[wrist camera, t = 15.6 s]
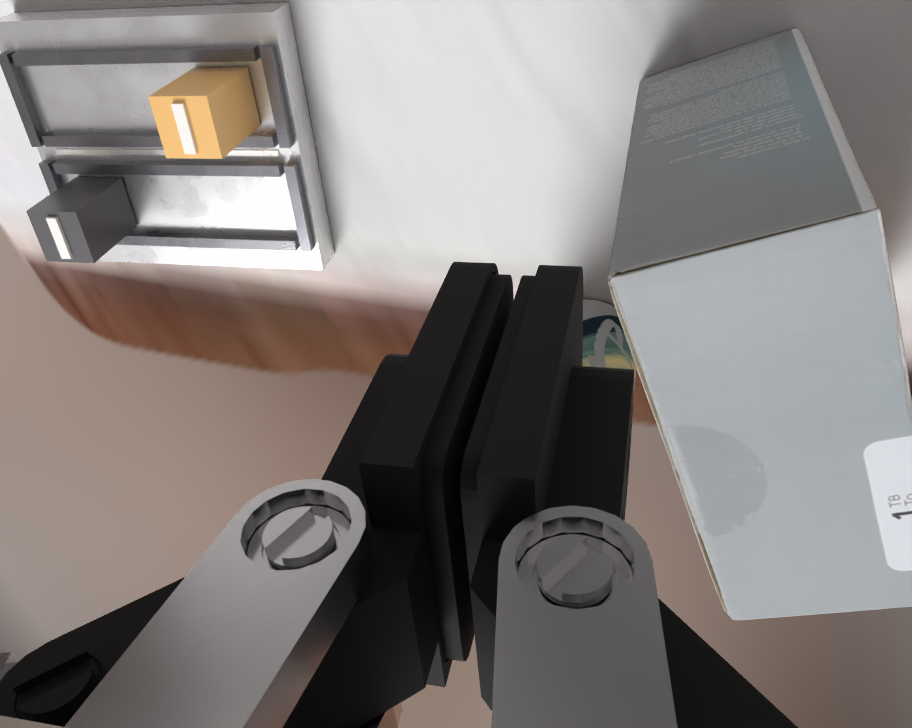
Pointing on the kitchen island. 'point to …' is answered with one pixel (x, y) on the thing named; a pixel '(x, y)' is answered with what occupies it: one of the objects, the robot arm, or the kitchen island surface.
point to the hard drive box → (768, 333)
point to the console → (138, 141)
